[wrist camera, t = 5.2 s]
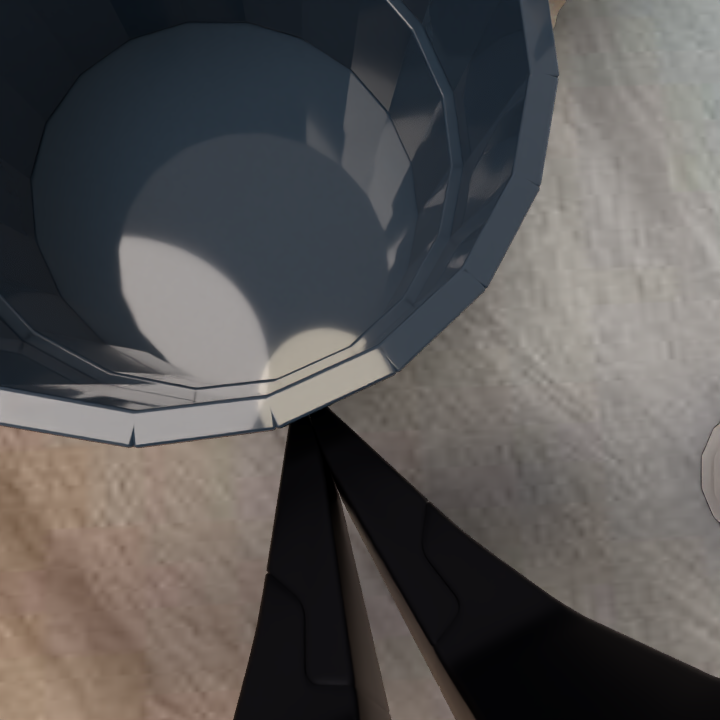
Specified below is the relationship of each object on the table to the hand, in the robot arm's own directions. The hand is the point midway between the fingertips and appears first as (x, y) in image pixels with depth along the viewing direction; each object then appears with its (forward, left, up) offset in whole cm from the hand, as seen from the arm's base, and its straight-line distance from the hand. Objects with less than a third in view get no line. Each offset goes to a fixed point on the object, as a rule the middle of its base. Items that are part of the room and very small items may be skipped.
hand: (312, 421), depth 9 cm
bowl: (+7, +4, -7) cm, 11 cm away
